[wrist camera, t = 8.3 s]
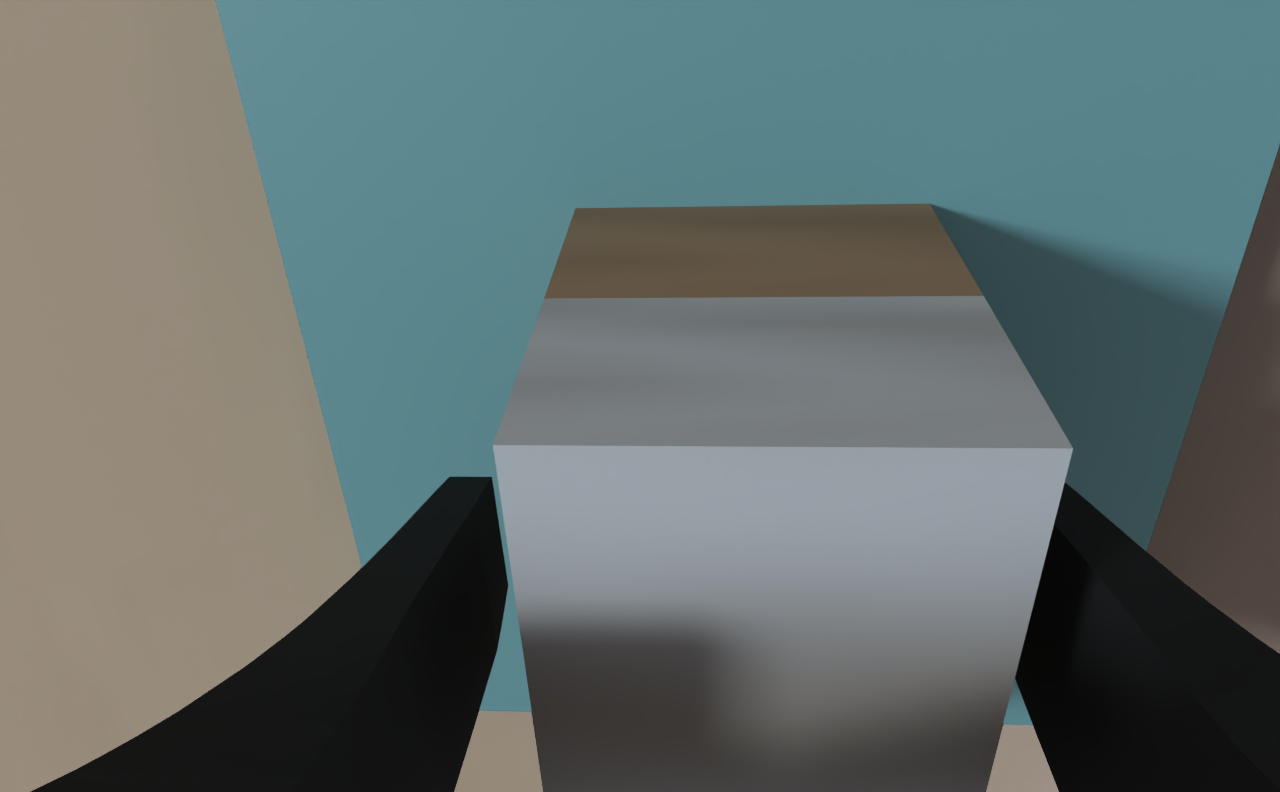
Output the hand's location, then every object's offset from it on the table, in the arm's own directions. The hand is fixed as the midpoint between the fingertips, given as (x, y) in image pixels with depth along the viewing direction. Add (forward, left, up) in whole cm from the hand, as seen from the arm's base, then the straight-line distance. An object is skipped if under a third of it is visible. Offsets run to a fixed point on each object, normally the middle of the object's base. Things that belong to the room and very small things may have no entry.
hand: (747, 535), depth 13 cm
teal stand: (0, 0, -5) cm, 5 cm away
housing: (0, 0, -3) cm, 3 cm away
